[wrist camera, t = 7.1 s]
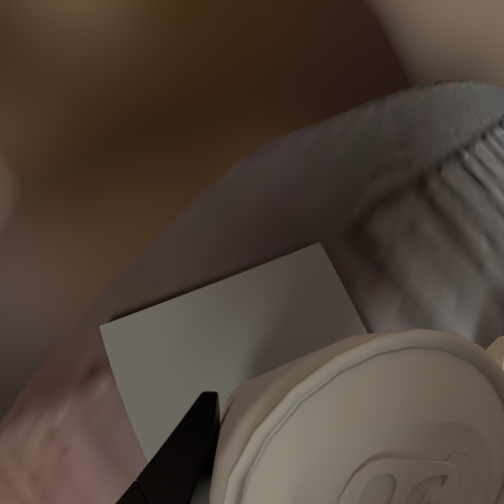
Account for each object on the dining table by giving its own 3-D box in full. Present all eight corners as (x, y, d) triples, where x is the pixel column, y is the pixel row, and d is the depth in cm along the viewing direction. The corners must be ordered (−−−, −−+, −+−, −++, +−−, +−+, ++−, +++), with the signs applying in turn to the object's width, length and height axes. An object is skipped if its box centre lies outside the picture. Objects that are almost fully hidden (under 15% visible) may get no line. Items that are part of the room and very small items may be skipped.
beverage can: (303, 476, 12) (461, 601, 1) (206, 451, 12) (160, 609, 2) (332, 387, 14) (543, 350, 3) (239, 360, 14) (285, 266, 4)
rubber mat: (420, 466, 14) (427, 468, 13) (209, 560, 11) (208, 566, 10) (317, 247, 20) (319, 241, 19) (104, 328, 17) (99, 326, 16)
